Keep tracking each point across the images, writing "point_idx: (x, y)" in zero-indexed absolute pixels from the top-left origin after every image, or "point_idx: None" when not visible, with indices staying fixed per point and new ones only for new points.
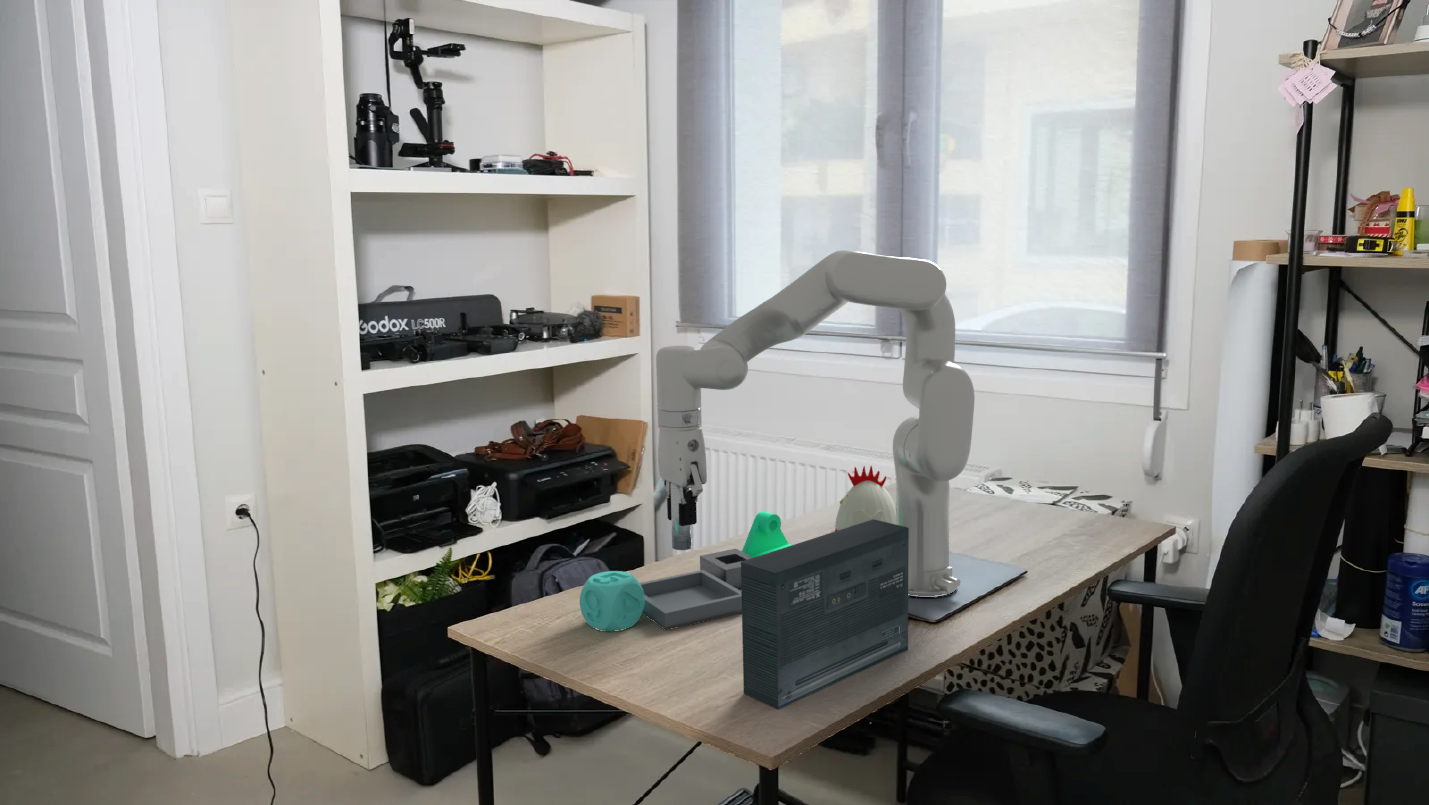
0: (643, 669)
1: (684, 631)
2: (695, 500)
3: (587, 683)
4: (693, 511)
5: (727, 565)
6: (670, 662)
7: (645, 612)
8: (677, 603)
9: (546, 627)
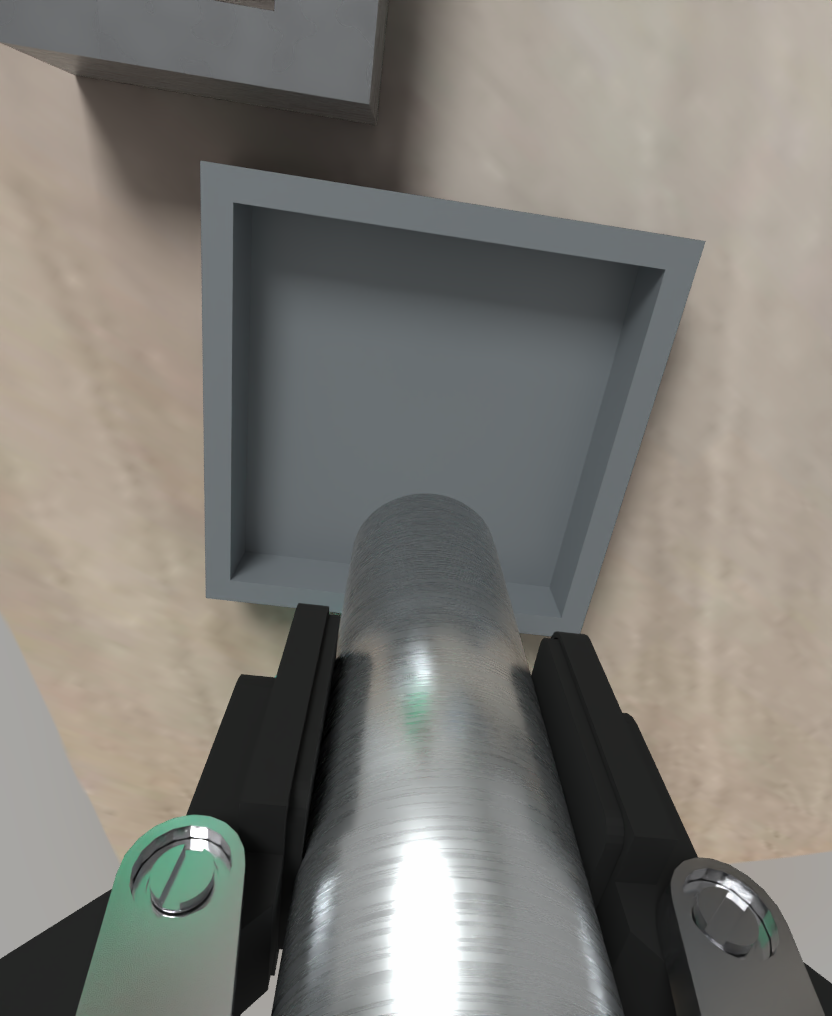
0: (725, 767)
1: (616, 559)
2: (763, 930)
3: None
4: (659, 791)
5: (298, 23)
6: (756, 705)
7: None
8: (400, 450)
9: None
